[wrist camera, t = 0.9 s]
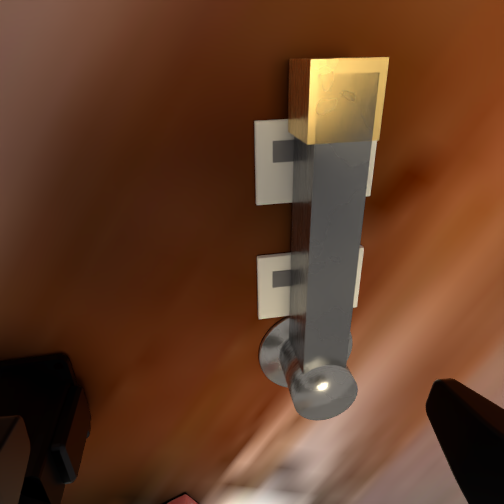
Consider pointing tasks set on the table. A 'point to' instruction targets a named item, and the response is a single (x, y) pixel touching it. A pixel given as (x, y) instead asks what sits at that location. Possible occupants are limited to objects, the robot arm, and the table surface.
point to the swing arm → (327, 221)
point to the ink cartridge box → (183, 500)
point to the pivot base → (278, 351)
